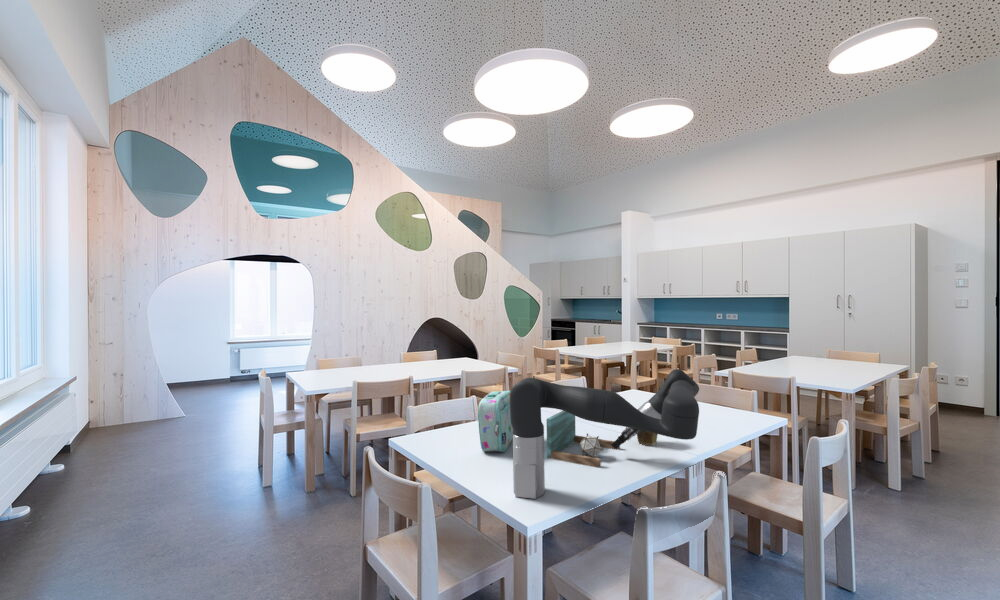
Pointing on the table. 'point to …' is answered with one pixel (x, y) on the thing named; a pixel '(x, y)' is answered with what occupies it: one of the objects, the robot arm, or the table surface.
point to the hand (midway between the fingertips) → (613, 446)
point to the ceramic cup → (647, 438)
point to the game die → (590, 446)
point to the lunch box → (495, 421)
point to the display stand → (568, 440)
